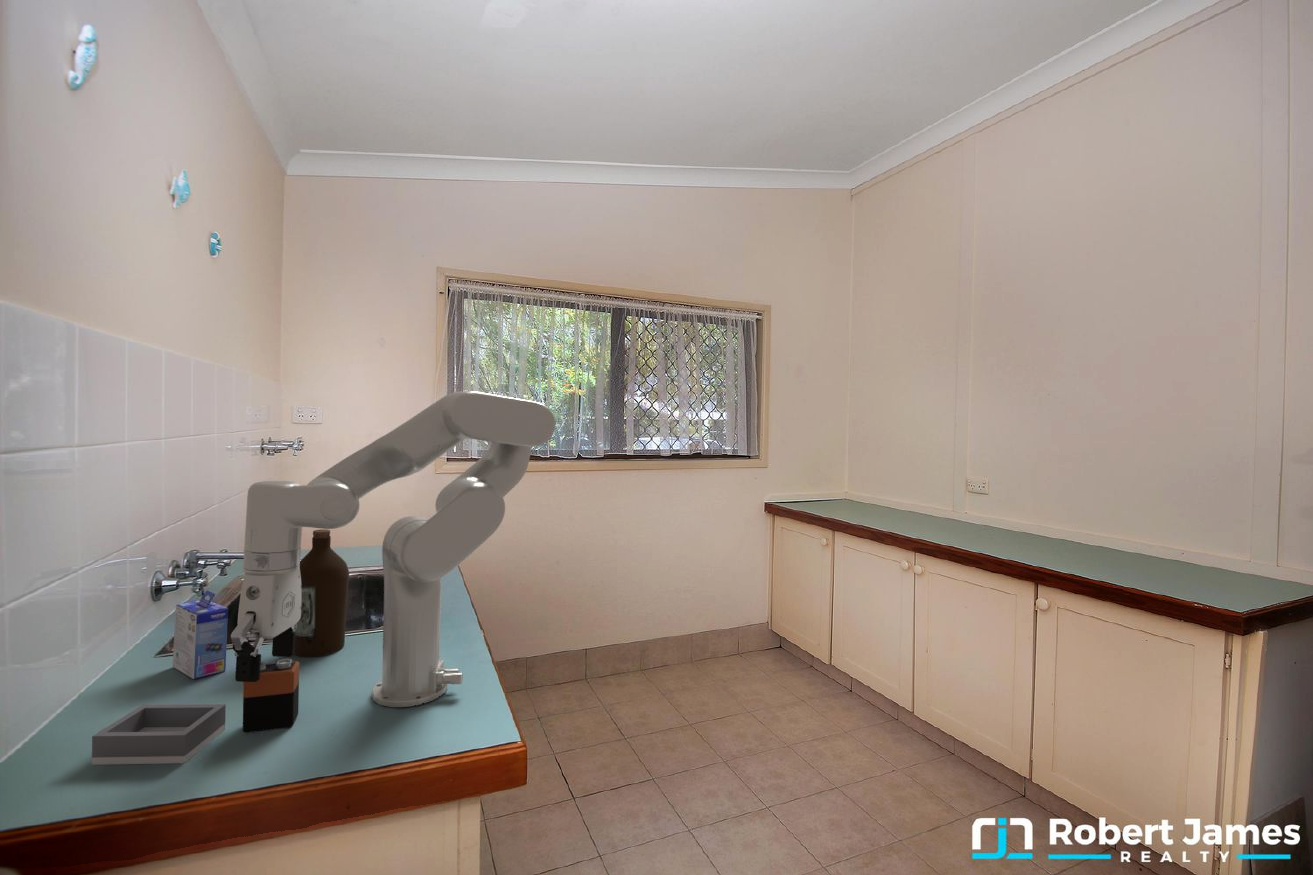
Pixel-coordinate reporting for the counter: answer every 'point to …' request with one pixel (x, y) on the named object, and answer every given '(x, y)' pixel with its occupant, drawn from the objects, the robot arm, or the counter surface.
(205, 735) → the charging cradle
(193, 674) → the ink cartridge box
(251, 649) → the robot arm
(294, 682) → the battery
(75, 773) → the counter surface
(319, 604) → the olive oil
